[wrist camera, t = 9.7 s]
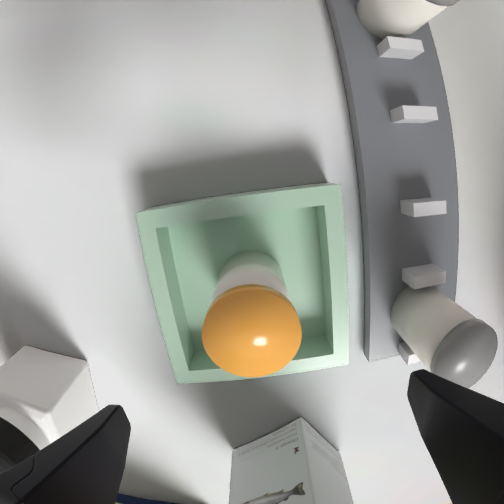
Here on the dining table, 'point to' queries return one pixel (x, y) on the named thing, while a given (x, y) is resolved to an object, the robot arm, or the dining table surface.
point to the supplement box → (289, 469)
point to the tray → (244, 239)
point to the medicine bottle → (41, 401)
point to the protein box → (135, 500)
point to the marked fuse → (251, 317)
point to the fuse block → (407, 189)
